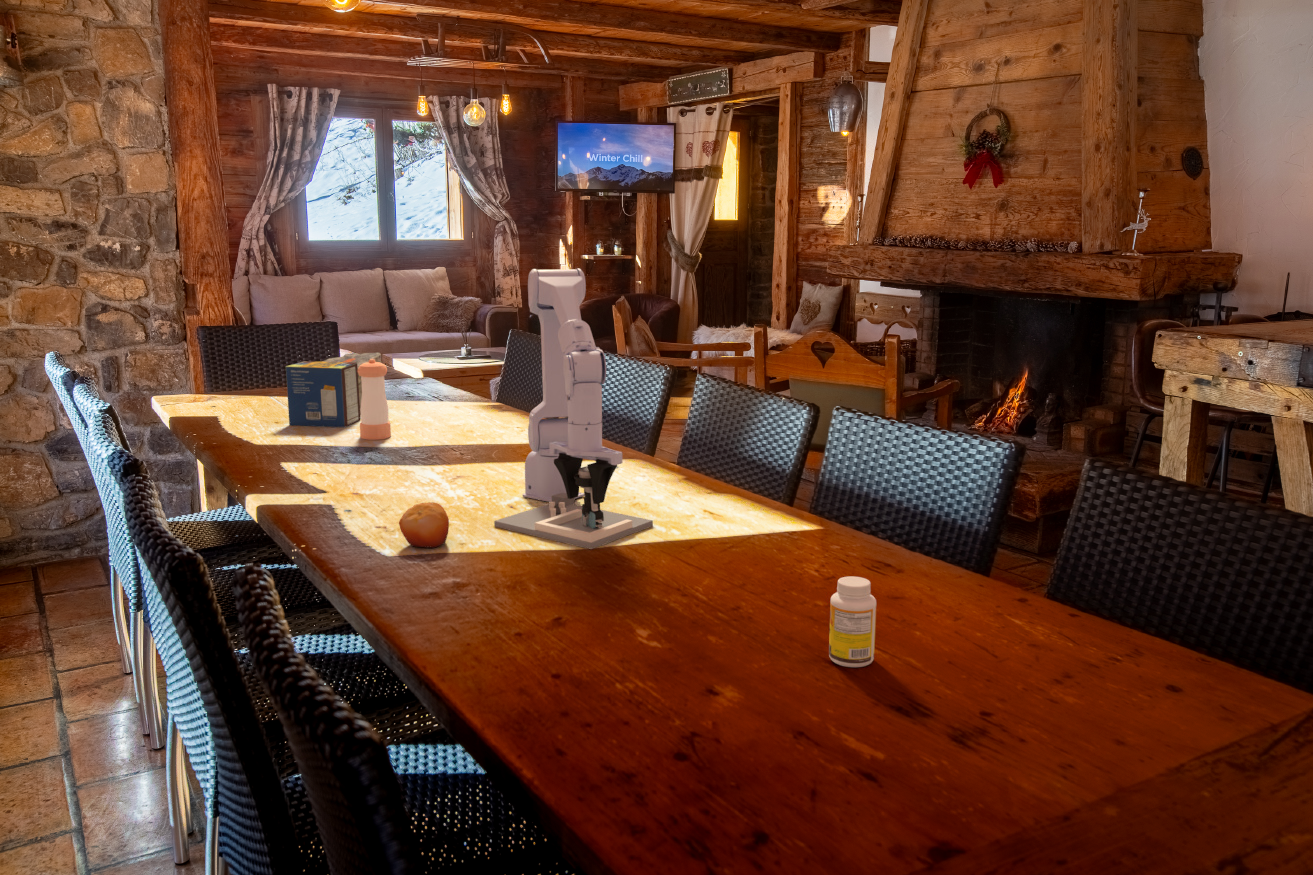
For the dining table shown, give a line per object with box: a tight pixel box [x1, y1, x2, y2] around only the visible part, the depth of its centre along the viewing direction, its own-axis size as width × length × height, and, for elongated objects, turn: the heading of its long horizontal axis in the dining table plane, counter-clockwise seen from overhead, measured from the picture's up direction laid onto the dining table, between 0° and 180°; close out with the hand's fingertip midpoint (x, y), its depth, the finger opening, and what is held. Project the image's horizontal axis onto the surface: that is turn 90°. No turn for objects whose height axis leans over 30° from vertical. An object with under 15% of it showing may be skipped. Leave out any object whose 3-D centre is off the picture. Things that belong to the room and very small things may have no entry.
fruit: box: [398, 501, 450, 549], centre depth 180 cm, size 8×8×8 cm
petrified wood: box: [321, 352, 383, 409], centre depth 308 cm, size 19×17×15 cm
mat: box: [493, 503, 654, 550], centre depth 191 cm, size 22×17×1 cm
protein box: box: [285, 360, 361, 428], centre depth 283 cm, size 10×15×16 cm
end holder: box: [535, 509, 632, 543], centre depth 186 cm, size 12×11×1 cm
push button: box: [574, 465, 604, 529], centre depth 186 cm, size 7×5×10 cm
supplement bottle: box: [828, 575, 877, 668], centre depth 133 cm, size 6×6×10 cm
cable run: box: [548, 493, 576, 517], centre depth 198 cm, size 4×11×2 cm, turn 175°
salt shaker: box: [357, 359, 392, 441], centre depth 265 cm, size 7×7×19 cm
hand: (585, 500), depth 186 cm, fingers closed on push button, 5 cm apart
